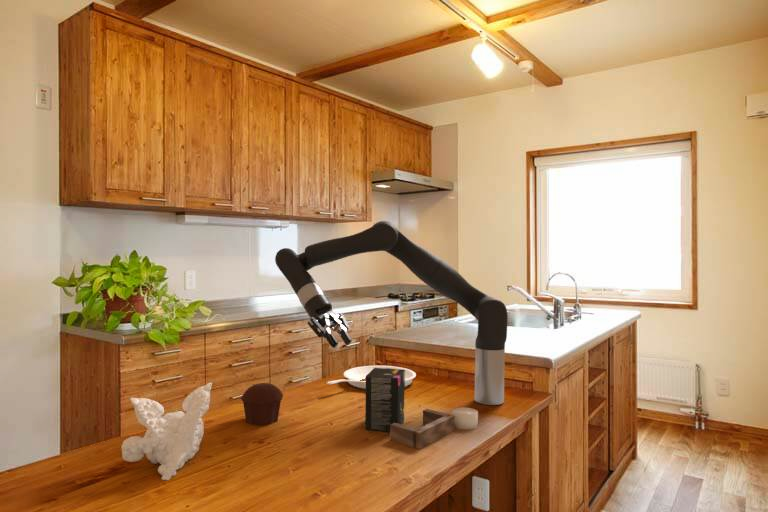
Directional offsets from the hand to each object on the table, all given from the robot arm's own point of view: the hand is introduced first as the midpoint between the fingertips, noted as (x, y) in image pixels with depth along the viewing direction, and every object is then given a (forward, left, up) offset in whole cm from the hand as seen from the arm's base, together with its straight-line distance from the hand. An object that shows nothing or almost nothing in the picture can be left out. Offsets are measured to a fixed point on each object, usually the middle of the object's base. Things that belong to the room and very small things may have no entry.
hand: (342, 344), depth 153 cm
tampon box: (0, +16, -20) cm, 26 cm away
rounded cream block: (-14, +33, -20) cm, 41 cm away
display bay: (0, +28, -20) cm, 35 cm away
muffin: (+19, -13, -20) cm, 31 cm away
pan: (-29, -14, -21) cm, 38 cm away
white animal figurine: (+51, -6, -20) cm, 55 cm away
